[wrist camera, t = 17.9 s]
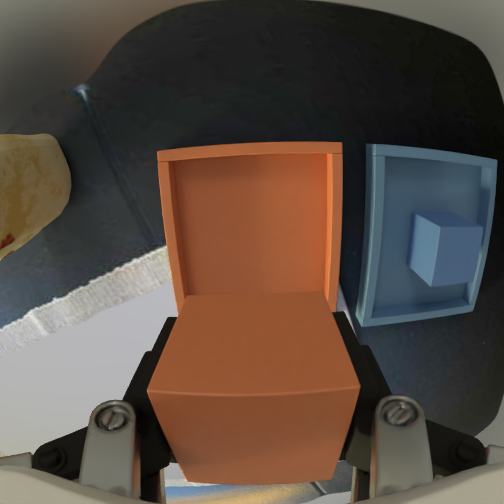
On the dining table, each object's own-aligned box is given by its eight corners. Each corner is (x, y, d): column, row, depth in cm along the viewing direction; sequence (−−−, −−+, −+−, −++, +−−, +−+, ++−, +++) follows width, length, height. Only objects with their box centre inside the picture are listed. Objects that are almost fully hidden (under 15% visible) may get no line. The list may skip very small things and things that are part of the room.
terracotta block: (186, 294, 10) (145, 390, 6) (323, 289, 10) (361, 386, 5) (204, 389, 11) (186, 482, 7) (314, 386, 11) (332, 479, 7)
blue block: (411, 211, 22) (440, 226, 17) (452, 212, 21) (483, 226, 17) (405, 263, 23) (430, 286, 19) (446, 261, 23) (473, 282, 19)
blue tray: (365, 143, 20) (374, 143, 18) (484, 157, 20) (497, 159, 18) (355, 315, 25) (361, 327, 23) (463, 301, 25) (472, 311, 23)
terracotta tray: (165, 150, 21) (156, 151, 19) (335, 142, 20) (342, 142, 19) (186, 321, 26) (181, 334, 24) (329, 316, 25) (334, 329, 24)
